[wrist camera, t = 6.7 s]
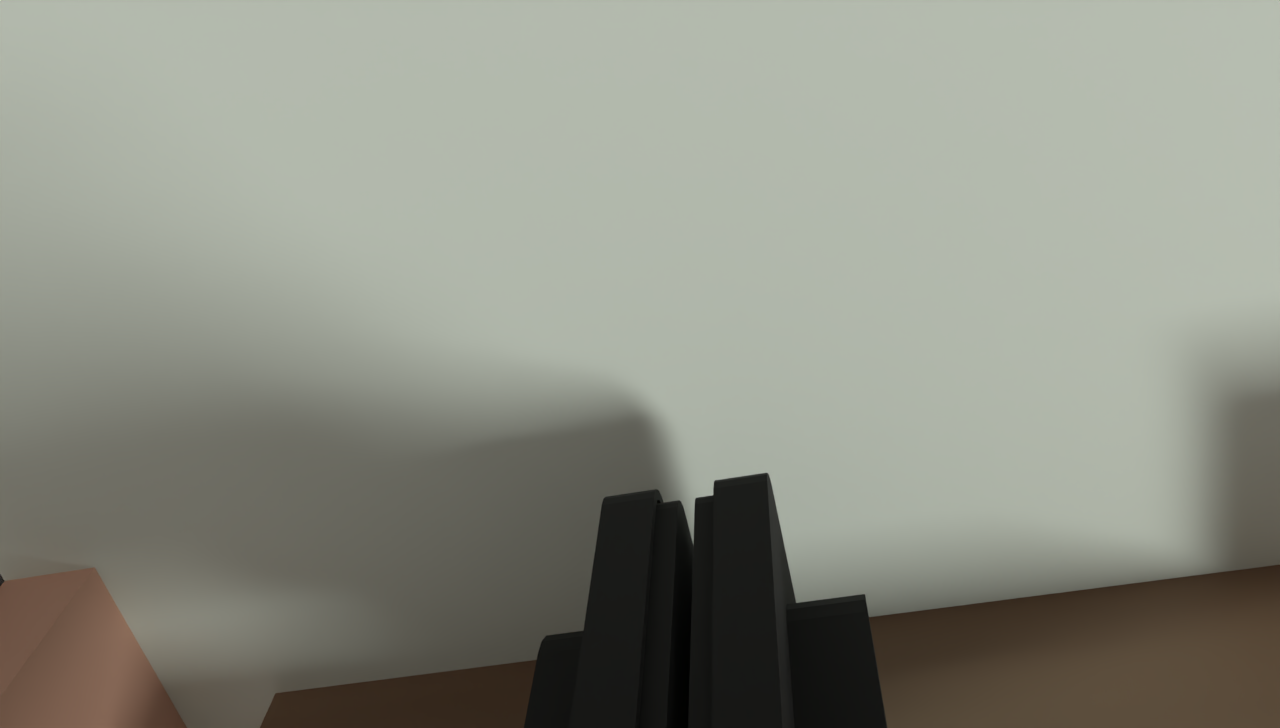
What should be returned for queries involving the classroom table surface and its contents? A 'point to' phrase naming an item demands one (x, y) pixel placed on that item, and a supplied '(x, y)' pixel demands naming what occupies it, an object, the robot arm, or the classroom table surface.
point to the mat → (622, 307)
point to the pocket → (74, 659)
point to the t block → (960, 666)
